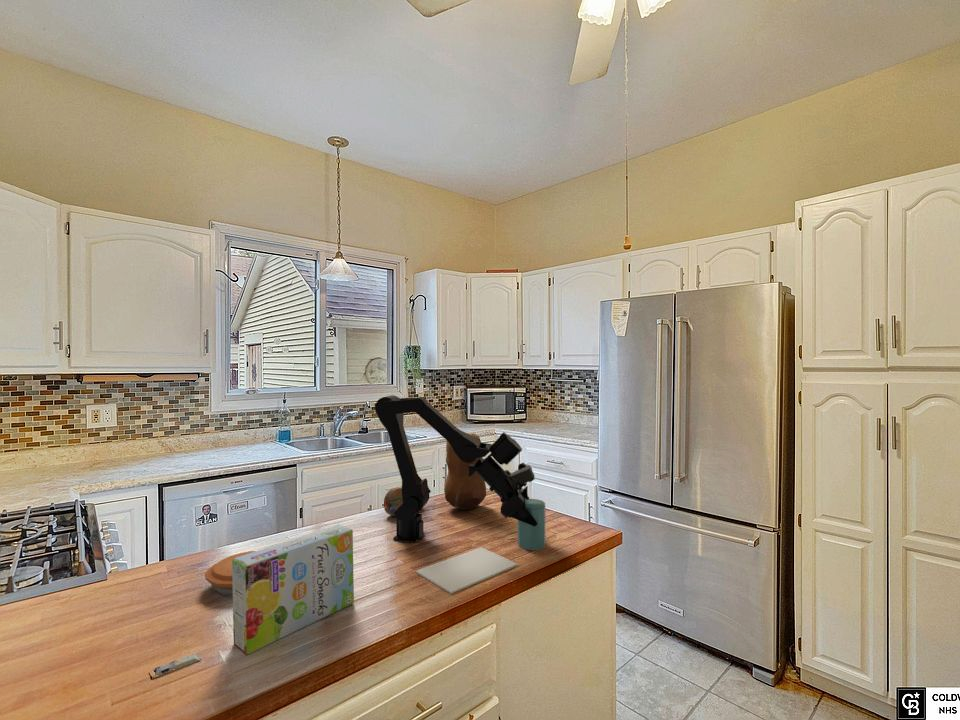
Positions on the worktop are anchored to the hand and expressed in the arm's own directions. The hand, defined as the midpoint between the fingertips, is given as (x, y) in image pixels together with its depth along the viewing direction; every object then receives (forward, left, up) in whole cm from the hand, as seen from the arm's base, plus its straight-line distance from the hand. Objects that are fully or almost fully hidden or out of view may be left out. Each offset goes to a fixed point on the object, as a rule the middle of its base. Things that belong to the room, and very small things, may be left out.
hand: (536, 519), depth 123 cm
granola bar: (-43, -67, -7) cm, 80 cm away
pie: (-55, -42, -7) cm, 70 cm away
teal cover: (-1, 0, -7) cm, 7 cm away
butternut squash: (-29, +21, -7) cm, 36 cm away
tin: (-46, +11, -7) cm, 48 cm away
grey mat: (-12, -19, -7) cm, 24 cm away
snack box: (-33, -51, -7) cm, 61 cm away
